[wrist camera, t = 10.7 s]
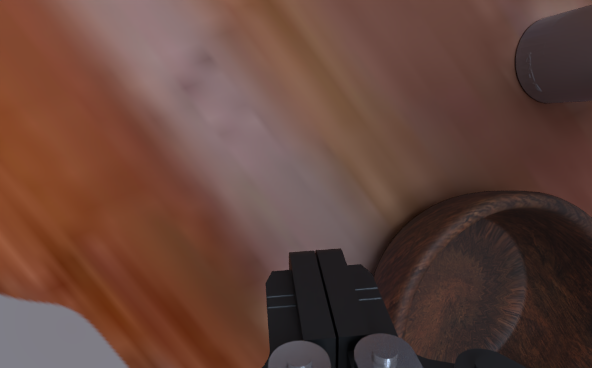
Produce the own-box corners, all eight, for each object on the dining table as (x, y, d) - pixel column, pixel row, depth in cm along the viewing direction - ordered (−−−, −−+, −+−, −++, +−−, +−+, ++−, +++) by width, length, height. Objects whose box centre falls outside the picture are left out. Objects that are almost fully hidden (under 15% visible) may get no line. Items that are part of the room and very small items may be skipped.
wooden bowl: (581, 259, 56) (669, 287, 47) (464, 435, 55) (529, 503, 45) (438, 132, 49) (506, 134, 40) (299, 331, 48) (334, 384, 38)
